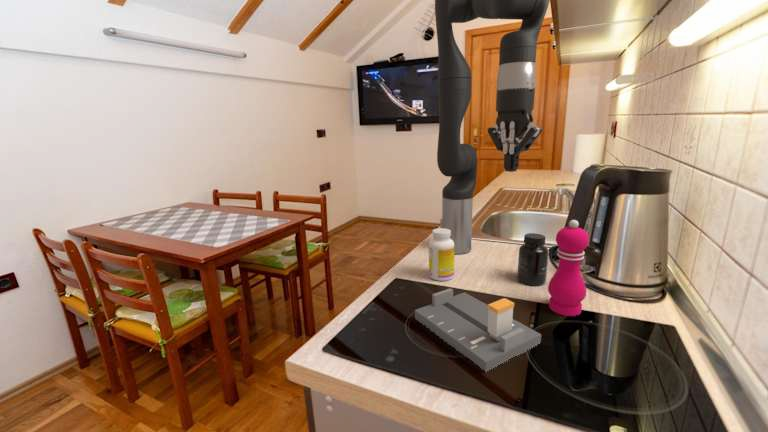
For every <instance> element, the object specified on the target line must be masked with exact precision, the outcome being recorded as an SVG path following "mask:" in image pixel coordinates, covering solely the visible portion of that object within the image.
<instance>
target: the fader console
mask: <svg viewBox="0 0 768 432" xmlns="http://www.w3.org/2000/svg"><path fill="white" fill-rule="evenodd" d="M431 299H432V301H431V302H432V303H430V304H428V305H425V306H422V307H420V308H417V309H414V319H415V320H416V321H418V322H419V324H421V323H422V324H421V325H422V326H424V325H425V326H426V327H425V326H424V327H425V328H427V329H428V328H429V329H430V330H429V329H428V330H429V331H430V332H431V333H433V332H434V333H435V334H434V333H433V334H434V335H436V336H437V337H438V336H439V337H438V338H440V339H441V340H442V339H443V340H442V341H444V342H445V343H446V342H447V343H446V344H448V345H449V346H450V345H451V346H452V347H451V346H450V347H451V348H453V347H454V348H455V349H456V350H455V349H454V348H453V349H454V350H455V351H456V352H458V351H459V352H460V354H461V353H462V354H463V355H464V356H463V355H462V354H461V355H462V356H463V357H465V356H466V357H467V358H469V359H470V360H472V361H473V362H474V363H475V364H476V365H478V366H479V367H480V368H481V369H480V368H479V367H478V366H477V367H478V368H479V369H480V370H482V369H483V370H484V371H485V372H486V373H488V372H490V371H492V370H494V369H496V368H497V366H498V365H500V364H502V363H503V364H505V363H507V362H509V361H510V360H509V359H511V358H513V357H515V356H517V357H519V356H521V355H522V354H525V353H526V352H528V351H530V350H532V349H534V348H536V347H537V345H538V344H540V343H541V341H542V334H541V333H540V332H538V331H536V330H535V329H532V328H531V327H529V326H527V325H525V324H523V323H522V322H520V321H518V320H516V319H514V318H513V320H512V330H511V331H510V333H508V334H505V335H503V336H501V337H500V340H499V341H497V340H495V339H494V338H492V337H491V336H489V332H488V312H489V309H488V303H485V302H483V301H481V300H479V299H477V297H474V296H472V295H470V294H469V293H467V292H462V293H459V294H456V295H454V289H453V288H446V289H444V290H441V291H438V292H434V293H432V295H431ZM540 345H541V344H540ZM535 346H536V347H535ZM538 346H539V345H538ZM533 347H534V348H533ZM531 348H532V349H531ZM529 349H530V350H529ZM527 350H528V351H527ZM459 352H458V353H459ZM520 354H521V355H520ZM518 355H519V356H518ZM466 357H465V358H466ZM467 358H466V359H467ZM515 358H516V357H515ZM513 359H514V358H513ZM470 360H469V361H470ZM508 360H509V361H508ZM511 360H512V359H511ZM506 361H507V362H506ZM504 362H505V363H504ZM474 363H473V364H474ZM475 364H474V365H475ZM503 364H502V365H503ZM476 365H475V366H476ZM500 366H501V365H500ZM495 367H496V368H495ZM498 367H499V366H498ZM493 368H494V369H493ZM491 369H492V370H491ZM483 370H482V371H483ZM489 370H490V371H489ZM484 371H483V372H484ZM487 371H488V372H487ZM485 372H484V373H485Z"/></svg>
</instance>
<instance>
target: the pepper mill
mask: <svg viewBox="0 0 768 432" xmlns="http://www.w3.org/2000/svg"><path fill="white" fill-rule="evenodd" d="M579 225H580V224H579V221H578V220H576V219H572V220H569V222H568V226H566V227H562V228H561V229H560V230H558V231H557V233H556V236H555V242H556V244H557V246H558V247H557V250H556V251H557V253H556V255H557V257H558V260H559V261H558V267H557V269H556V271H555V273H554V274H553V276H552V277H551V278H550V280H549V283H548V287H547V290H548V291H547V292H548V294H549V296H551V297H550V298H549V301H548V307H549V309H550V310H551V311H552V312H553V313H555V314H558V315H562V316H565V317H577V316H580V315H581V313H582V309H583V303H582V302H583V301H584V300H585V299H586V297H587V288H586V287H587V286H586V283H585V281H584V279H583V276H582V272H581V264H582V260H584V259H585V254H586V253H585V249H587V247H588V246H589V244H590V238H589V235H588V233H587V231H585V230H584V229H583V228H581V227H579ZM576 315H577V316H576Z"/></svg>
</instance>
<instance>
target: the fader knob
mask: <svg viewBox="0 0 768 432" xmlns="http://www.w3.org/2000/svg"><path fill="white" fill-rule="evenodd" d="M487 305H488V309H489V312H488V332H489V336H491V337H492V338H494V339H495V340H497V341H499V340H500V337H501V336H503V335H505V334H508V333H510V331H511V330H512V320H513V319H514V318H513V316H514V308H515V302H513V301H512V300H510V299H508V298H505V297H504V298H500V299H499V300H496V301H493V302H491V303H487Z"/></svg>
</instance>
